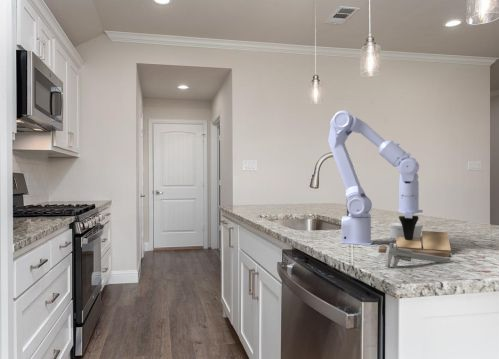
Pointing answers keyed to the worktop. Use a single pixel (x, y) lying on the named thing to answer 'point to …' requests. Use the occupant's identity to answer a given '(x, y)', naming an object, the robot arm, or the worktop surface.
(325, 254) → the worktop surface
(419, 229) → the ramekin
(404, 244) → the left plank
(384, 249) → the floor panel
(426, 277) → the worktop surface
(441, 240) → the right plank
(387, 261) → the caliper
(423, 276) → the worktop surface
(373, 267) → the worktop surface
